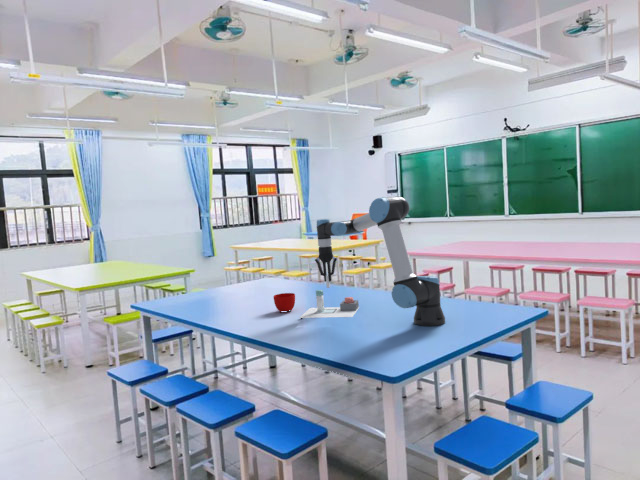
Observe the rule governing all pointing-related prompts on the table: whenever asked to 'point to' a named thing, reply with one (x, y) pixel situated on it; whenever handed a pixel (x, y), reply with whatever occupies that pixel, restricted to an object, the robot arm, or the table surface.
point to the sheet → (327, 313)
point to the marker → (320, 301)
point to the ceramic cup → (284, 301)
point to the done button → (349, 300)
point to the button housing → (349, 306)
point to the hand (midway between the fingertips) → (328, 287)
